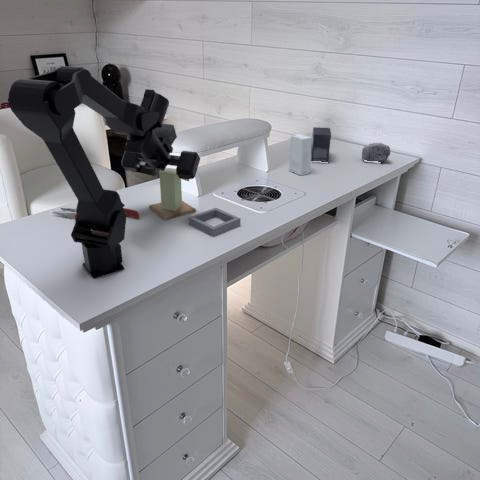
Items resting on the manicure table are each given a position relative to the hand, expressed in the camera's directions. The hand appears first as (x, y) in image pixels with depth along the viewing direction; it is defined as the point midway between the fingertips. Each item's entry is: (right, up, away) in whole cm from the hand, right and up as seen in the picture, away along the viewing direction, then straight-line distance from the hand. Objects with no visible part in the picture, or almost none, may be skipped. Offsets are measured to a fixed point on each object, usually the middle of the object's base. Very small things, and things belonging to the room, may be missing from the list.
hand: (172, 177), depth 113 cm
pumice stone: (+67, +12, +47) cm, 83 cm away
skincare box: (+37, +6, +33) cm, 50 cm away
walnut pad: (-1, -8, +3) cm, 9 cm away
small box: (+46, +13, +48) cm, 68 cm away
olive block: (-1, -7, +3) cm, 8 cm away
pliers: (-18, -11, -2) cm, 21 cm away
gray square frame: (+11, -13, -4) cm, 17 cm away
